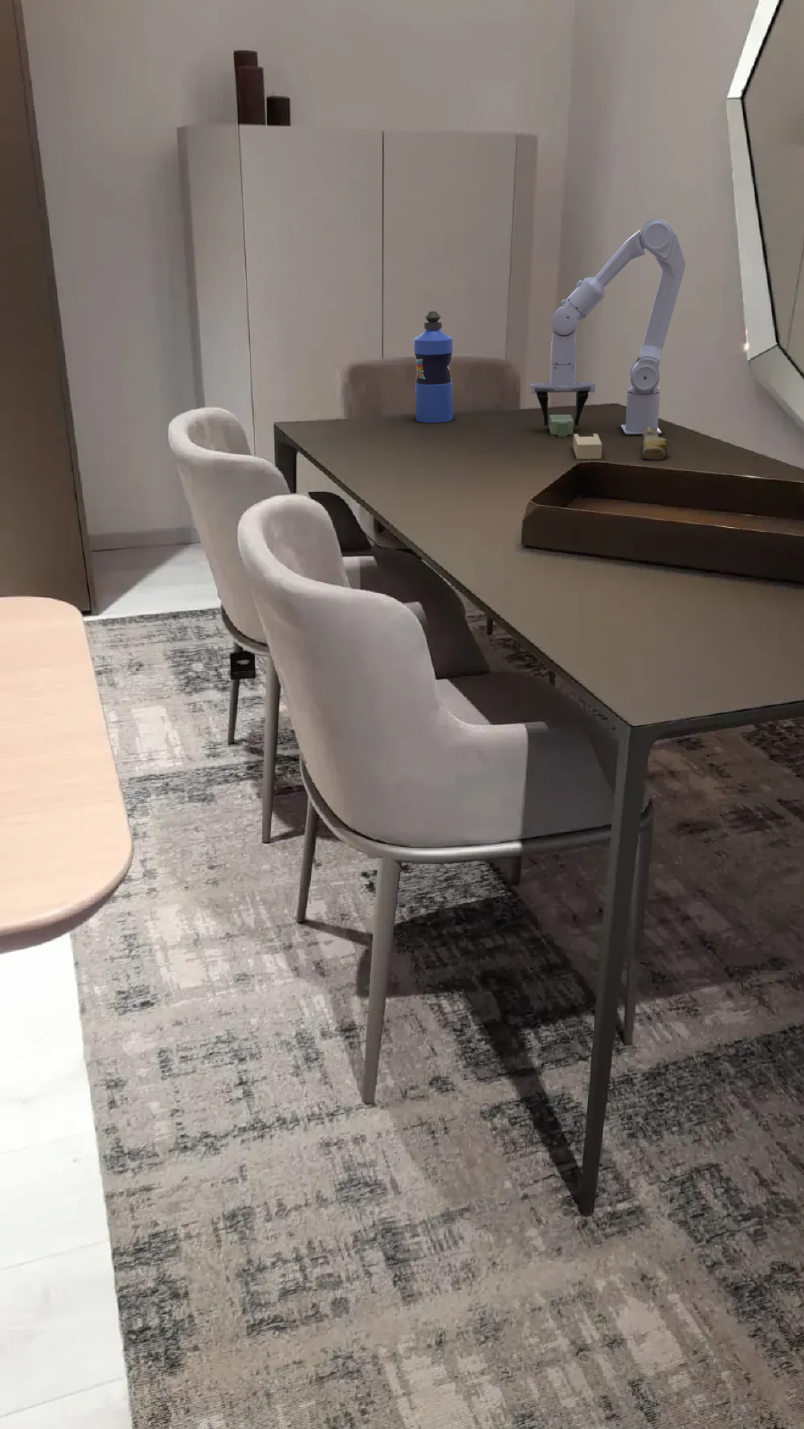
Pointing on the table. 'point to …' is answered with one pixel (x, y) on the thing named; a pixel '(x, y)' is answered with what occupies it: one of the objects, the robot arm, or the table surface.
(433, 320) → the water bottle
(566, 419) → the green notched block
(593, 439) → the cream pad
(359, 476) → the table surface
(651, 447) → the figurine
